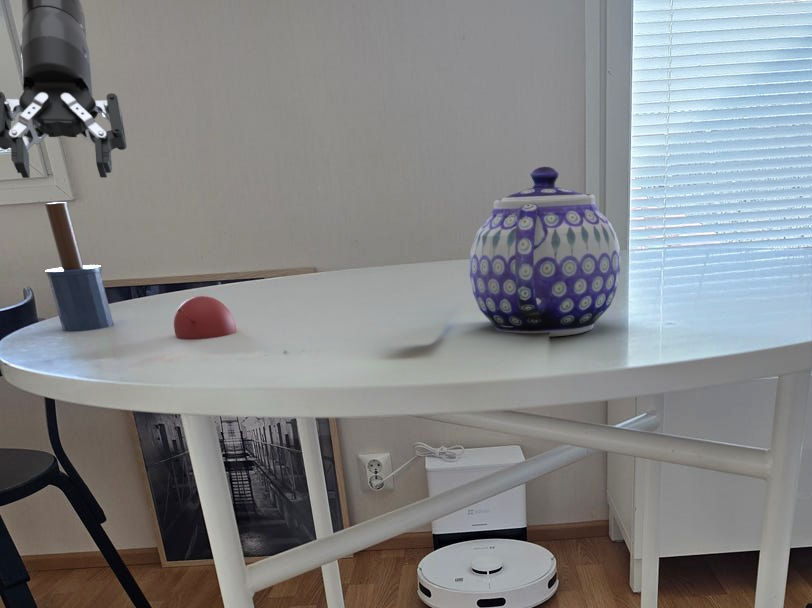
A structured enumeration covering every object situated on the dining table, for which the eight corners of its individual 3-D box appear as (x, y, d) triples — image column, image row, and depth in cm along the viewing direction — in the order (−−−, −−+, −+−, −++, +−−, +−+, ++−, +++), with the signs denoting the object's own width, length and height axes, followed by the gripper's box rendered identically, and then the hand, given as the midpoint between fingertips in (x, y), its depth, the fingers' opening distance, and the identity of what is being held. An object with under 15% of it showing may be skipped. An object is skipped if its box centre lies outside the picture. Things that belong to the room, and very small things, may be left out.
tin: (58, 348, 97) (38, 277, 93) (82, 340, 101) (63, 271, 98) (103, 346, 96) (85, 275, 92) (125, 338, 101) (108, 269, 97)
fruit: (180, 375, 89) (147, 311, 82) (192, 338, 92) (162, 273, 85) (236, 373, 89) (208, 308, 82) (247, 336, 91) (221, 270, 85)
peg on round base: (37, 283, 93) (15, 205, 89) (64, 277, 98) (44, 203, 95) (87, 280, 93) (67, 202, 89) (112, 274, 98) (94, 200, 94)
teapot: (601, 353, 77) (604, 164, 70) (440, 354, 81) (427, 175, 74) (632, 309, 98) (636, 160, 91) (503, 311, 102) (497, 168, 95)
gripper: (125, 91, 109) (133, 196, 105) (3, 89, 106) (8, 197, 102) (111, 35, 102) (120, 146, 98) (-20, 31, 99) (-16, 145, 95)
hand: (62, 172), depth 100 cm, fingers open, 8 cm apart
